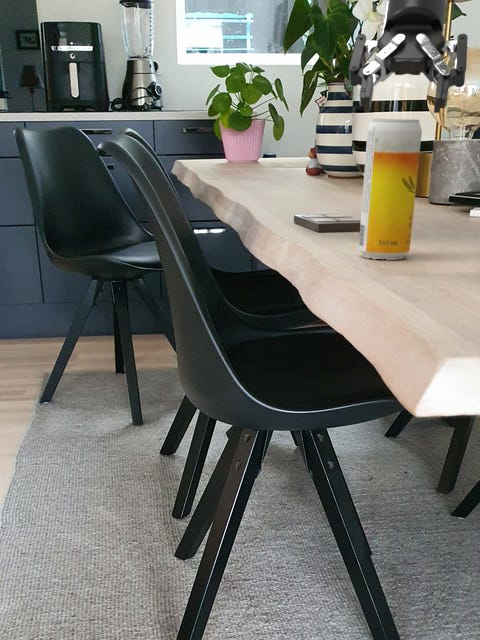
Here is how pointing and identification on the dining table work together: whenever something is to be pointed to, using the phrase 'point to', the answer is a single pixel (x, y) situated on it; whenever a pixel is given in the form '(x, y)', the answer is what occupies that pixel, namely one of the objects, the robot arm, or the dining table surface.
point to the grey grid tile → (328, 222)
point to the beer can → (389, 188)
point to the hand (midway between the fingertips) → (401, 107)
